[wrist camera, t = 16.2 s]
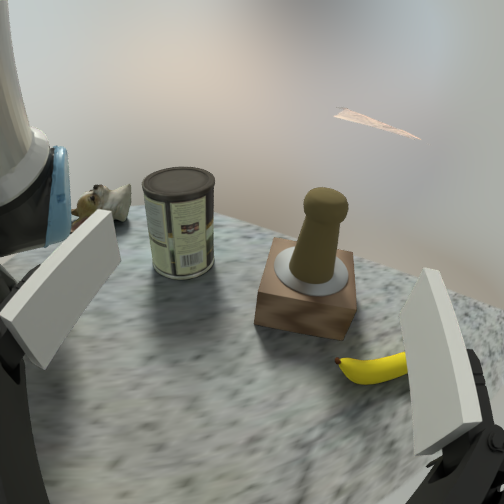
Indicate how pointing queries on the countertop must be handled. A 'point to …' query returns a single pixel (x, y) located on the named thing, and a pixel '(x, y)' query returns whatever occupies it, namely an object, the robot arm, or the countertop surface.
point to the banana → (373, 369)
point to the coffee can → (180, 220)
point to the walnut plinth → (306, 296)
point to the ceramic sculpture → (102, 203)
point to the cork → (319, 236)
